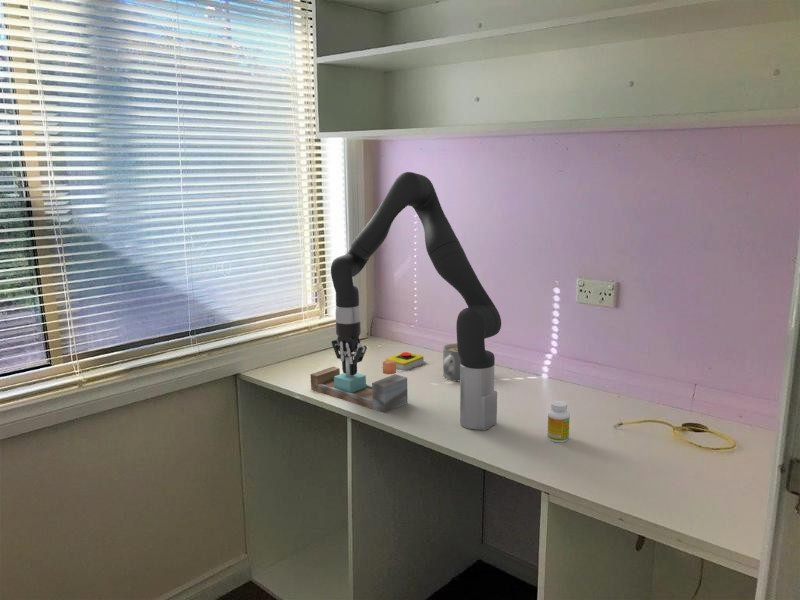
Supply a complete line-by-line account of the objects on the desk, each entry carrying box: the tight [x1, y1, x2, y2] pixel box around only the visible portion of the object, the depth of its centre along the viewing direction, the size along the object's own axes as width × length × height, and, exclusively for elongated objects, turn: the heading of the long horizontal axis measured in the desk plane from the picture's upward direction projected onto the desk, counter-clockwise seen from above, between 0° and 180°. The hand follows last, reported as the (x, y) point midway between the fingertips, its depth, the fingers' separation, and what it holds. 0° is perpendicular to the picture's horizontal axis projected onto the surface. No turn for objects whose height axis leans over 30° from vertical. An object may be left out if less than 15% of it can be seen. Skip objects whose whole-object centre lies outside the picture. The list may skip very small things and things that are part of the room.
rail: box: [309, 366, 409, 414], centre depth 204 cm, size 32×10×8 cm, turn 49°
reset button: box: [382, 360, 397, 375], centre depth 193 cm, size 4×4×3 cm
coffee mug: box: [442, 342, 460, 381], centre depth 219 cm, size 13×10×10 cm
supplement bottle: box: [547, 400, 571, 443], centre depth 170 cm, size 5×5×10 cm
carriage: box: [334, 357, 367, 393], centre depth 205 cm, size 7×7×10 cm
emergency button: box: [381, 351, 427, 373], centre depth 234 cm, size 9×4×15 cm
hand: (349, 373), depth 205 cm, fingers closed on carriage, 2 cm apart
